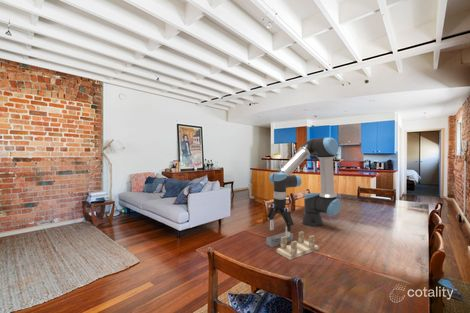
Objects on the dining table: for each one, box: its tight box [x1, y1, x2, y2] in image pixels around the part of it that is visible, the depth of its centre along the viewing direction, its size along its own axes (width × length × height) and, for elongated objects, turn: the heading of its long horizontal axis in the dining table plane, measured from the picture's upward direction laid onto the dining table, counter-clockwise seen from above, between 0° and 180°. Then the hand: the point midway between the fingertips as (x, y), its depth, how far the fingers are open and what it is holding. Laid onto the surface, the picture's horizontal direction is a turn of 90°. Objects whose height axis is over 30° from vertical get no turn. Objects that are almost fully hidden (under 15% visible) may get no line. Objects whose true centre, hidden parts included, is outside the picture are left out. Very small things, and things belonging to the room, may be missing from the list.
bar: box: [265, 231, 294, 248], centre depth 136 cm, size 18×4×4 cm, turn 123°
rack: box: [276, 230, 319, 261], centre depth 124 cm, size 22×10×8 cm, turn 122°
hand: (279, 233), depth 136 cm, fingers open, 13 cm apart
